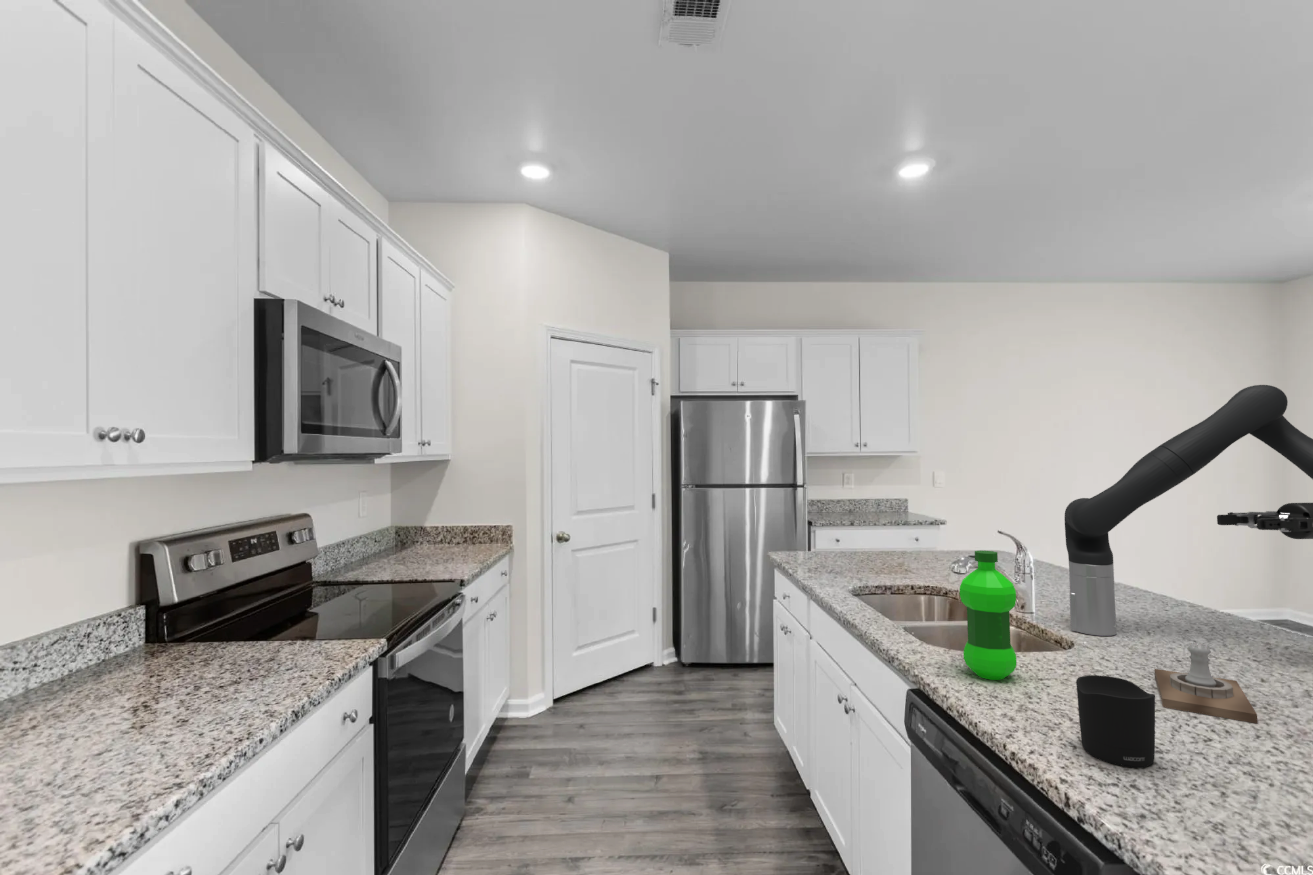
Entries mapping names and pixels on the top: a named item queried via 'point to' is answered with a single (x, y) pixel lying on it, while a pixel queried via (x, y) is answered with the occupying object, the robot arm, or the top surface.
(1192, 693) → the ring plate
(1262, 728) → the top surface
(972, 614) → the plastic bottle
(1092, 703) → the pen holder
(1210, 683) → the rook chess piece
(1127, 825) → the top surface
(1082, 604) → the robot arm
